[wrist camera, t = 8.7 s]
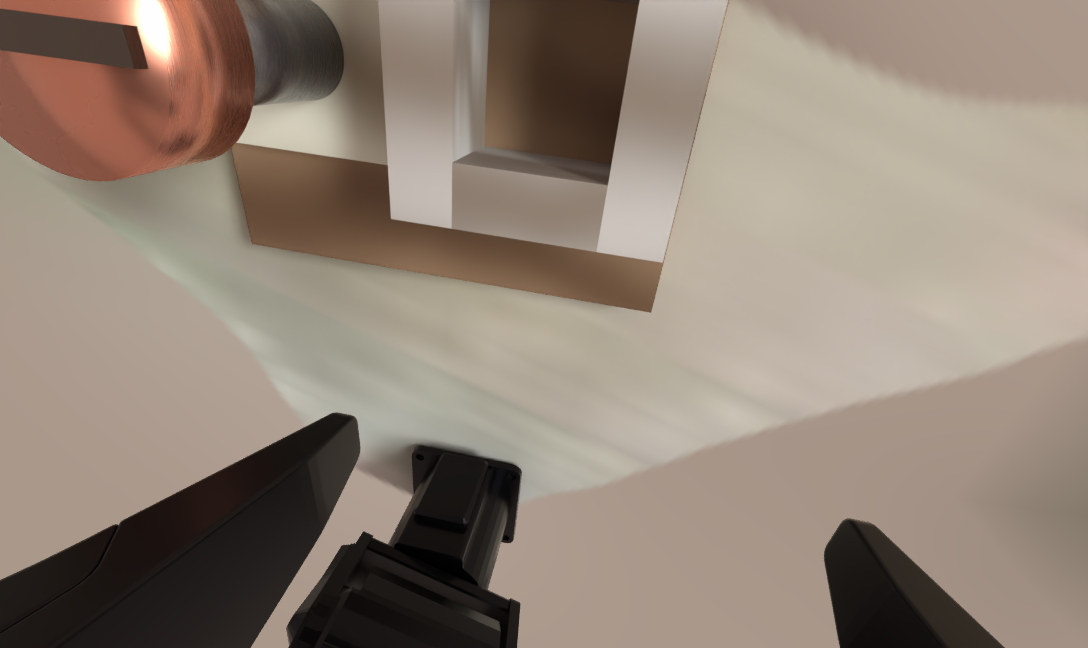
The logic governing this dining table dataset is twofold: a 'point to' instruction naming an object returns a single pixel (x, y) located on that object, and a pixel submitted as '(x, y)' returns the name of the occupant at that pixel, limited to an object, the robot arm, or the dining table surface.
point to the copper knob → (153, 77)
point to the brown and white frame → (492, 142)
